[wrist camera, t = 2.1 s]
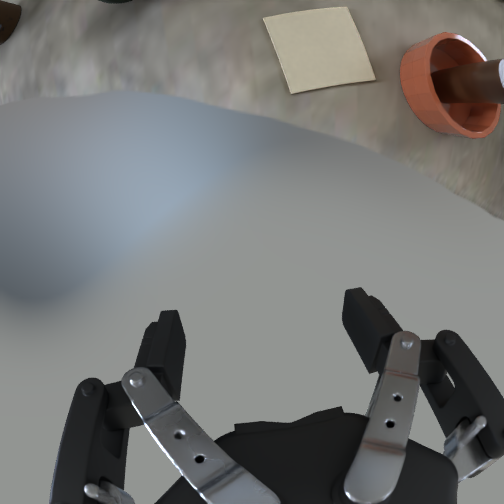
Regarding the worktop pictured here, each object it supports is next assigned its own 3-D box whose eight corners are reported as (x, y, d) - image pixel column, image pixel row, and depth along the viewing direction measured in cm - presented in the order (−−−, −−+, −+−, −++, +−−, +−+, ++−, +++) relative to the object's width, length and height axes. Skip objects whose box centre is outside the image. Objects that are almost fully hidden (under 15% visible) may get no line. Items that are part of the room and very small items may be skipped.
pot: (386, 42, 23) (408, 28, 17) (458, 46, 21) (484, 39, 15) (414, 138, 28) (441, 142, 22) (480, 131, 26) (507, 135, 20)
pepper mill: (424, 70, 24) (493, 55, 11) (449, 71, 23) (517, 61, 10) (434, 104, 25) (505, 104, 13) (457, 103, 25) (528, 105, 12)
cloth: (262, 19, 23) (262, 18, 23) (346, 7, 21) (347, 6, 21) (291, 94, 28) (291, 93, 27) (374, 80, 26) (376, 79, 25)
